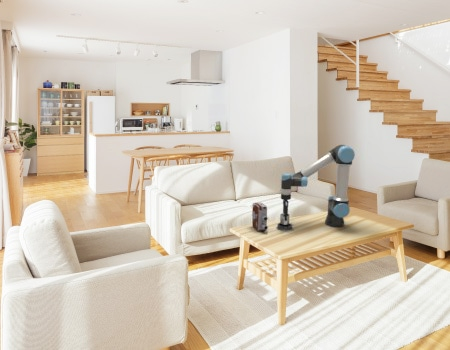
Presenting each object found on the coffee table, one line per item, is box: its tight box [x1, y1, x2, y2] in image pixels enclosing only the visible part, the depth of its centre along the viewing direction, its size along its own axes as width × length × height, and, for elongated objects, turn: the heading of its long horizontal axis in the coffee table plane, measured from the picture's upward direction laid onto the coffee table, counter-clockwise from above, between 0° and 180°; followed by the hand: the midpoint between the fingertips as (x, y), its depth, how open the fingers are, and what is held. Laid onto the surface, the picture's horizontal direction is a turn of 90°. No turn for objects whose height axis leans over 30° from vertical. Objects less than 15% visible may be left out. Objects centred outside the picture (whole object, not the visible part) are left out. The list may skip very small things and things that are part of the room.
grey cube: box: [279, 212, 290, 225], centre depth 304 cm, size 7×7×7 cm
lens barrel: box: [276, 222, 294, 232], centre depth 305 cm, size 13×13×3 cm
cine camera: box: [251, 202, 269, 232], centre depth 300 cm, size 9×19×20 cm, turn 15°
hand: (285, 222), depth 304 cm, fingers closed on grey cube, 7 cm apart
